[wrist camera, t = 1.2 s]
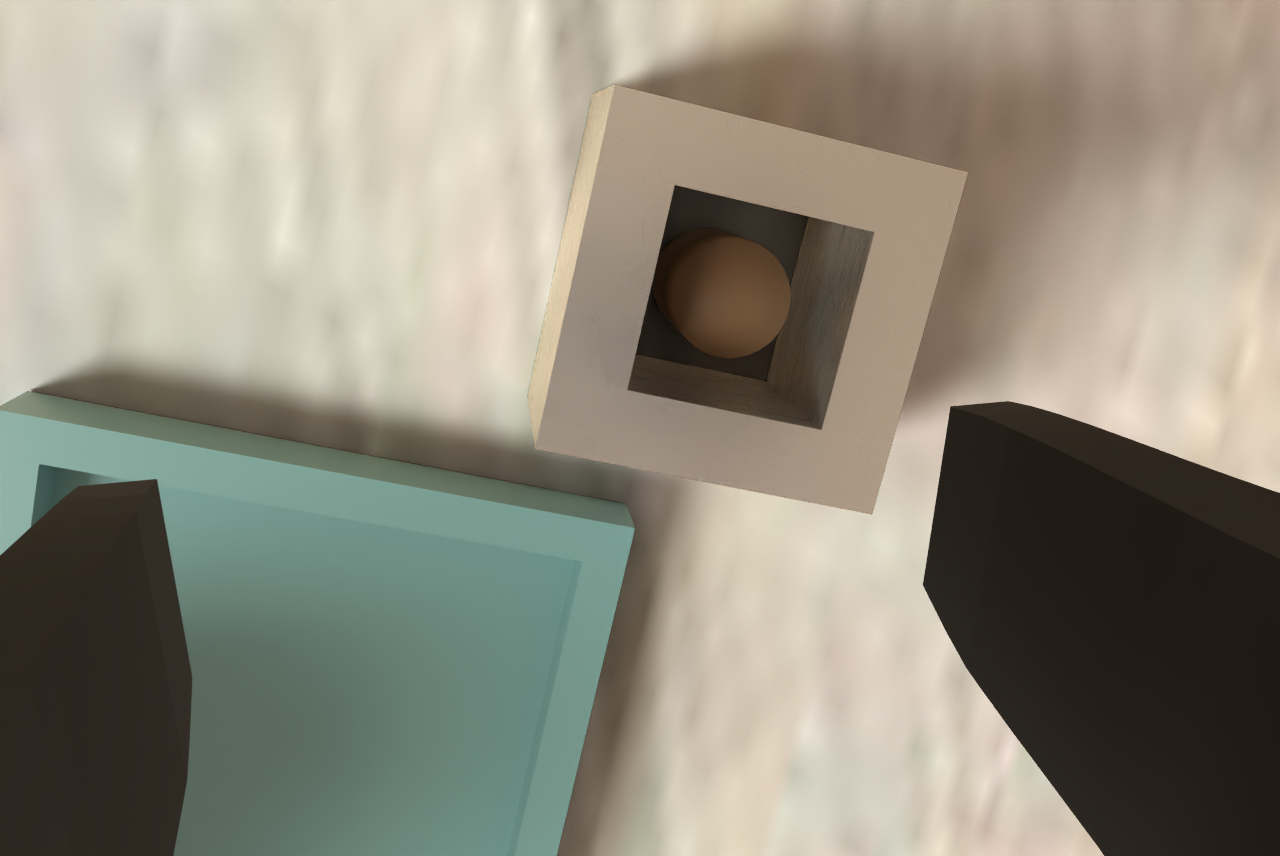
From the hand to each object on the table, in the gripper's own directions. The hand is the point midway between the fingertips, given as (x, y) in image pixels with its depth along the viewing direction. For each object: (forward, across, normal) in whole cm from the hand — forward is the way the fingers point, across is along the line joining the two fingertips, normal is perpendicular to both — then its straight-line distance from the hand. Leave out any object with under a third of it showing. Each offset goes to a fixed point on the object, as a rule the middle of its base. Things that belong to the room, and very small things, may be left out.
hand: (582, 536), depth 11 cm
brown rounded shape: (+11, -5, +2) cm, 12 cm away
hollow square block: (+11, -5, +2) cm, 12 cm away
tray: (+10, +4, +10) cm, 15 cm away
